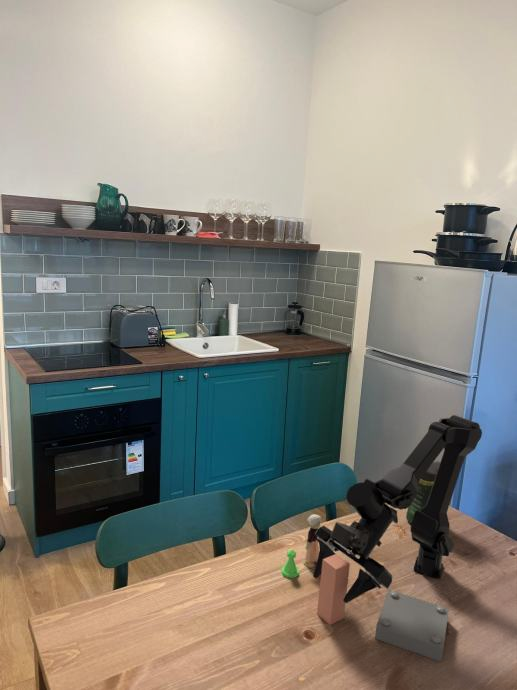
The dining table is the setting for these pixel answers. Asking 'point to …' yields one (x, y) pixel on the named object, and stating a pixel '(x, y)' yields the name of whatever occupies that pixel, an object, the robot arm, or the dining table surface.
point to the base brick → (413, 624)
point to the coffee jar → (423, 491)
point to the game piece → (290, 566)
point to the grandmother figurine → (312, 541)
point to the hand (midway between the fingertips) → (329, 589)
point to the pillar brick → (333, 588)
